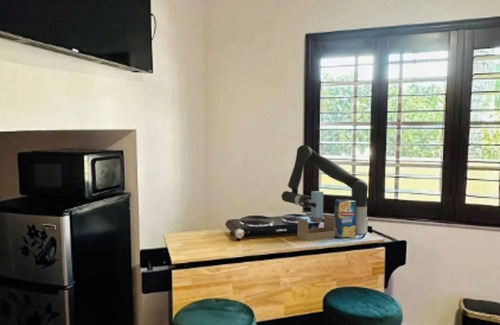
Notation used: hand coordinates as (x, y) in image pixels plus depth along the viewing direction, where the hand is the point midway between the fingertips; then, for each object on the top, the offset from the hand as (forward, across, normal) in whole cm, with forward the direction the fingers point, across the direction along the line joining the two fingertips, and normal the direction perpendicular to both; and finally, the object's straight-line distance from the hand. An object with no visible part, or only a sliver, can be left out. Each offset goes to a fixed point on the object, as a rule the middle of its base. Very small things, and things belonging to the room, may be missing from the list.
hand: (319, 205), depth 222 cm
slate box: (-3, 0, +10) cm, 11 cm away
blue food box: (+1, +18, +21) cm, 27 cm away
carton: (-3, 0, +20) cm, 20 cm away
